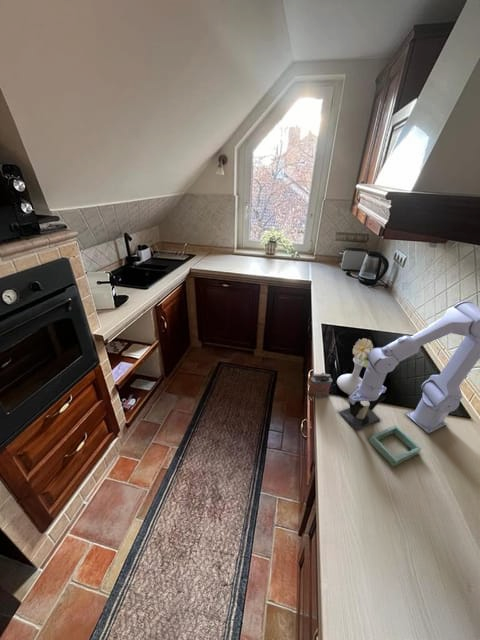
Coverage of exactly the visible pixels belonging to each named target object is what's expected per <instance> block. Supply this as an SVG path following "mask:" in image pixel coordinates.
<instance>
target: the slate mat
mask: <svg viewBox="0 0 480 640" xmlns="http://www.w3.org/2000/svg"><path fill="white" fill-rule="evenodd" d="M339 414H340V416H342V417H343V419H345V421H346V422H347V423H348V424H349V425H350V427H352V428H353V429H354V431H355V430H356V431H357V430H358V429H359V430H360V429H361V428H364V427H366V426H368V425H370V424H374V423H376V422H378V421H380V420H381V419H380V417H379V416H378V415H376V413H375V412H373V411H372V410H370V409H369V408H368V410H367V413H366V415H365V418H364V419H359V418H357V417H353V416H352V415H351V414H350V407H349V408H346V409H342V410H341V411H339Z"/></svg>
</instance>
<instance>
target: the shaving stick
mask: <svg viewBox="0 0 480 640" xmlns="http://www.w3.org/2000/svg"><path fill="white" fill-rule="evenodd" d="M360 402H361V404H362V405H363V406H364V408H362V409H361V410H360V411H359V413H358V414H357V416H356V417H357V418H359V419H364V418H365V415H366V413H367V410H368V408H369V405H370V403H369V401H360Z"/></svg>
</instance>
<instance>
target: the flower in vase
mask: <svg viewBox="0 0 480 640" xmlns="http://www.w3.org/2000/svg"><path fill="white" fill-rule="evenodd" d="M372 349H374V345H373V342H372V341H371V340H370V339H368V338H365V337H363V338H362V339H358V340H357V341H356V342H355V345H353V348H352V355H353V358H352V361H353V363H354V367H353V371H352V373H344V374H341V375H340V376H338V378H337V380H336V384H337V386H338V389H340V390H341V391H342V392H343V393H345V394H347V395H351V394H354V392H355V391H356V390H357V389H358V387H357V385H358V384H361V383H362V380H363V377H362V378H361V376H360V374H361V371H362V369H363V367H364V368H365V369H366V368H367V366H368V361H369V360H368V358H367V353H369V352H370V351H371V350H372Z"/></svg>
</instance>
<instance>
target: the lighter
mask: <svg viewBox="0 0 480 640" xmlns="http://www.w3.org/2000/svg"><path fill="white" fill-rule="evenodd" d="M332 383H333V379H332V377H331V374H329V373H325V372H321V373H313V375H312V376H311V377H310V382H309V387H308V390H307V396H309V397H311V398H326V397H328V396H329V392H330V388H331V385H332Z"/></svg>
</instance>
